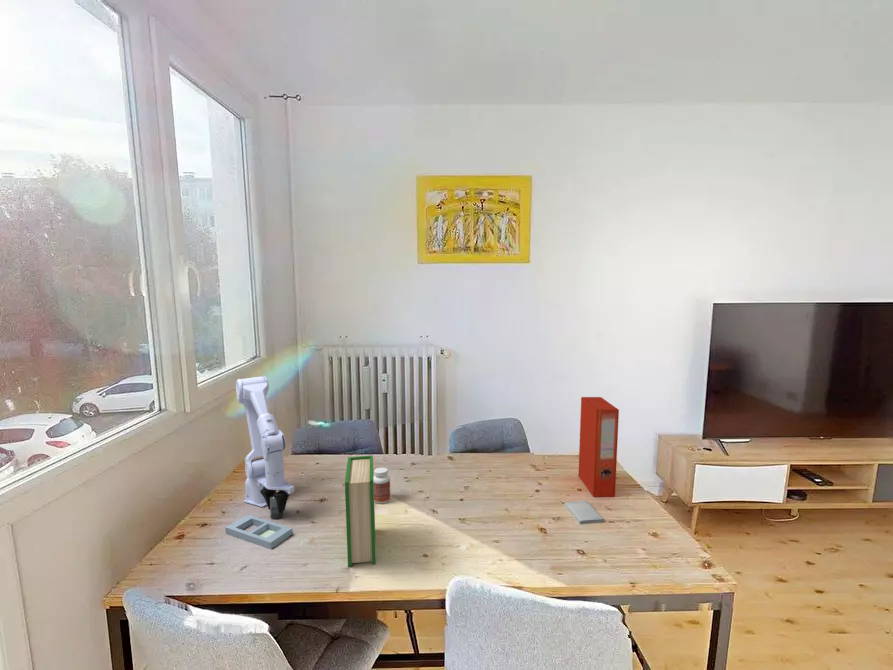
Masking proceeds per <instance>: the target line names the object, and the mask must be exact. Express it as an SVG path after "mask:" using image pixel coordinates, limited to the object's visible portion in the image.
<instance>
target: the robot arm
mask: <svg viewBox="0 0 893 670" xmlns="http://www.w3.org/2000/svg"><path fill="white" fill-rule="evenodd" d="M269 388H270V385H269V380H268V378H267V377H266V375H262V376H255V377H249V378H248V377H247V378H246V377H245V378H238V379H237V380H236V381H235V392H236V397H237V401H238V403H239V404H241V405H243V407H244V410H245V415H246V420H247V427H248V429H247V430H248V434H249V439H250V441H249V442H250V447H251V451H250V452H249V453H248V454H247V455H246V456H245V457H244V471H245V474H246V477H247V478H246V480H245V481H244V489H245V490H244V492H245V499H244V500H243V502H244V503H247V504H250V505H253V506H257V507H261V508H263V507H266V506H267V509H268V510H269V511H270V495H271V494H273V493H275V494H274V496H275V498H276V501H277V505H278V511H279V513H281V512H284V511H286V507H287V502H288V499H289V496H291V494H293V493H295V486H294V485H292V484H290V483H289V482H287V478H286V477H285V463H284V462H285V460H284V450H286V447H287V446H286V444H287V443H286V437H285V434H284V433H283V431H282V430H281V429H279V426H278V423H277V420H276V418H275V416H274V414H272V413H271V414H270V410H269V409H270V408H269V406H268V400H267V396H268V392H269Z"/></svg>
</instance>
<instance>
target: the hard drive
mask: <svg viewBox="0 0 893 670" xmlns="http://www.w3.org/2000/svg"><path fill="white" fill-rule="evenodd" d="M563 505H564V506H565V508H566V509H567V510H568V512H569V513H570V514H571V515H572V516H573V518H574V519H575V520H576V521H577V522H578V524H579V525H588V524H598V523H605V519H604V518H603V517H602V515H601V514H599V513H598V511H596V509H595V508H594V507H593V506H592V505H591V503H590V502H588V500H580V501H579V500H578V501H577V500H576V501H567V502H564V504H563Z"/></svg>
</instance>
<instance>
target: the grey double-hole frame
mask: <svg viewBox="0 0 893 670" xmlns="http://www.w3.org/2000/svg"><path fill="white" fill-rule="evenodd" d="M252 525H254V526H256V528H254V529H252V530H251V531H247V530H245V529H246V527H247V528H248V527H250V526H252ZM272 530H273V531H272ZM275 531H276V532H275ZM293 533H294V532H293V527H290V526H287V525H283V524H280V523H276V522H273V521H271V520H268V519H263V518H260V517H257V516H255V515H251V514H247V515H245V516H243V517H241V518H240V519H237V520H236V521H234V522H232V523H230V524H229V525H226V526H225V534H226V535H229V536H231V537H235V538H237V537H238V539H240V540H244V541H246V542H249V543H252V544H255V545H258V546H261V547H264V548H267V549H269V550H272V549H274V548H275V547H277V546H278V545H280V542H281V543H282V542H284V541H285V540H286V538H287V539H288V538H289V536H290V535H291V536H293V535H292V534H293ZM291 536H290V537H291ZM283 540H284V541H283Z"/></svg>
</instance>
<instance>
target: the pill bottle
mask: <svg viewBox="0 0 893 670" xmlns="http://www.w3.org/2000/svg"><path fill="white" fill-rule="evenodd" d="M388 472H389V471H388V468H386V467H377V468H375V469H373V478H374V504H380V505H382V504H386V503H388V502H390V500H391V477H390V475H389V473H388Z"/></svg>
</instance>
